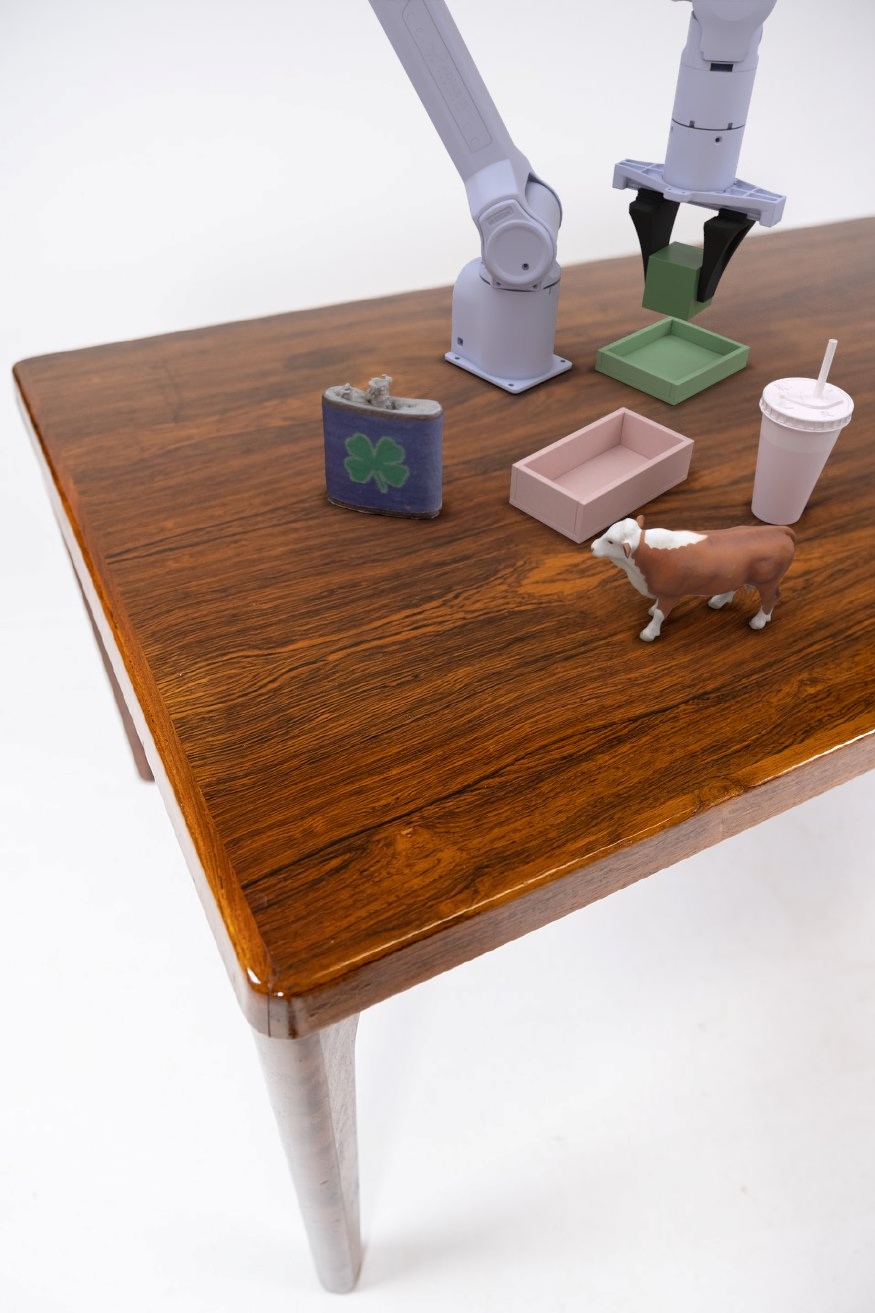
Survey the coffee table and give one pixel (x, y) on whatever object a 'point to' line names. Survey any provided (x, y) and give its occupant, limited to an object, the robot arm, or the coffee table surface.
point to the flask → (382, 451)
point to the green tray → (672, 359)
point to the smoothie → (796, 441)
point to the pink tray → (600, 473)
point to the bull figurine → (699, 564)
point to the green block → (674, 281)
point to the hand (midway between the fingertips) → (678, 290)
